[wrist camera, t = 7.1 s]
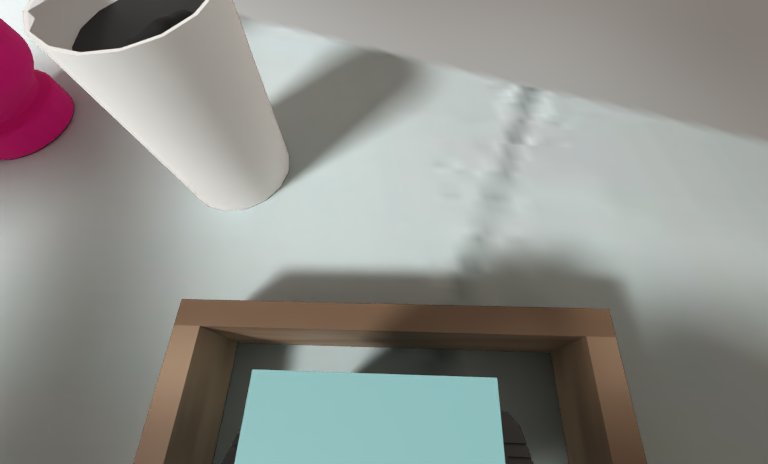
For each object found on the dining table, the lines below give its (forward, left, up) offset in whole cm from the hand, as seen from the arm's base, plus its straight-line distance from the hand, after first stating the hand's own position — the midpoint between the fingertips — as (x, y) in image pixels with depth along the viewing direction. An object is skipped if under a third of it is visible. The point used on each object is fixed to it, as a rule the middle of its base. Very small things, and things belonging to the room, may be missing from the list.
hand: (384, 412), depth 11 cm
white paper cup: (+4, +15, -4) cm, 16 cm away
